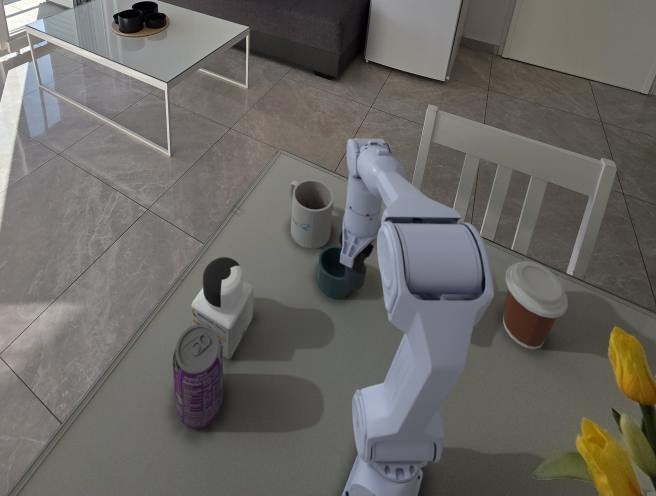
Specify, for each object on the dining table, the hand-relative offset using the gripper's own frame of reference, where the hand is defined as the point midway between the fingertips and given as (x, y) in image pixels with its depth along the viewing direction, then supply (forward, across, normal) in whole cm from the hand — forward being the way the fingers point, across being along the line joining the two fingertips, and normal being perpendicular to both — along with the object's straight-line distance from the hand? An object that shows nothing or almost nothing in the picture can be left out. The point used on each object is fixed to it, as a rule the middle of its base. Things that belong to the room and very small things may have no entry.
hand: (356, 263), depth 75 cm
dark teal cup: (+10, +3, +4) cm, 11 cm away
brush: (+4, 0, 0) cm, 4 cm away
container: (+10, -15, +18) cm, 26 cm away
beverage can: (+11, -25, +15) cm, 31 cm away
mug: (+10, +12, +14) cm, 21 cm away
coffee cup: (+10, +12, -28) cm, 32 cm away
